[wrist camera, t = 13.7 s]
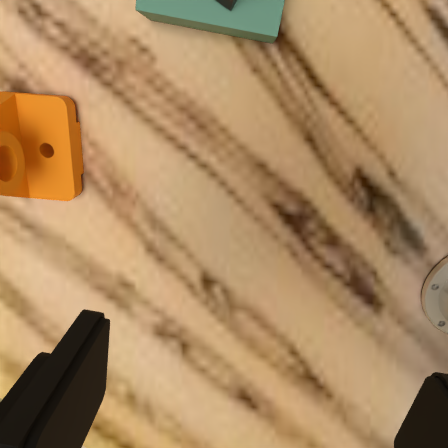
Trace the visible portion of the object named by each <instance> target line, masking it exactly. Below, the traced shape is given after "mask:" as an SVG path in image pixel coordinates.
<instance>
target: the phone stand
mask: <svg viewBox="0 0 448 448" xmlns="http://www.w3.org/2000/svg"><path fill="white" fill-rule="evenodd" d="M216 1H217V2H218V3H220V4H221V5H223V6H224V7H225V8H227V9H228V10H230V11H231V10H232V9H233V7H234V5H235V3H236V1H237V0H216Z"/></svg>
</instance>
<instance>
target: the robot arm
mask: <svg viewBox="0 0 448 448" xmlns="http://www.w3.org/2000/svg"><path fill="white" fill-rule="evenodd" d="M421 302H422V307H423V310H424V312H425V314H426V316H427V317H428V319H429V320H430V321H431V323H432V324H433V325H434V326H435V327H436V328H438V329H439V330H441V331H443V332H444V333H446V334H448V257H446V258H445V259H443V260H442V261H441V262H440V263H439V264H438V265H437V266H436V267H435V268H434V269H433V270H432V272H431V273H430V274H429V275H428V277H427V279H426V281H425V283H424V286H423V290H422V297H421ZM109 330H110V320H109V319H105V318H104V313H102V312H96V311H90V310H85V309H84V310H82V312H81V313H80V314H79V316H78V317H77V318H76V320H75V321H74V322H73V324H72V325H71V327H70V328H69V329H68V331H67V332H66V334H65V335H64V336H63V338H62V339H61V341H60V342H59V343H58V345H57V346H56V347H55V349H54V350H53V352H52V353H51V354H50V353H45V352H41V353H40V354H38V355H37V356H36V357H35V358H34V359H33V361H32V362H31V363H30V365H29V366H28V367H27V369H26V370H25V371H24V372H23V374H22V375H21V376H20V378H19V379H18V380H17V382H16V383H15V384H14V385H13V387H12V388H11V389H10V391H9V392H8V393H7V395H6V396H5V397H4V398H3V400H2V401H1V402H0V448H81V447H82V445H83V443H84V441H85V438H86V436H87V434H88V432H89V429H90V427H91V425H92V423H93V421H94V418H95V416H96V414H97V412H98V409H99V407H100V405H101V403H102V400H103V397H104V394H105V390H106V377H107V361H108V346H109ZM394 448H448V374H444V373H438V372H435V373H433V374H432V375H431V376H428V377H427V378H426V379H425V381H424V383H423V385H422V386H421V388H420V390H419V392H418V394H417V396H416V398H415V400H414V402H413V404H412V406H411V408H410V410H409V412H408V414H407V416H406V418H405V420H404V421H403V423H402V425H401V427H400V429H399V431H398V433H397V435H396V437H395V440H394Z"/></svg>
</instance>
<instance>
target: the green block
mask: <svg viewBox="0 0 448 448" xmlns="http://www.w3.org/2000/svg"><path fill="white" fill-rule="evenodd" d="M284 1H285V0H237V1H236V3H235V5H234V7H233V9H232V10H231V11H230V10H228V9H227V8H225V7H224V6H223V5H221V4H220V3H218V2H217V1H216V0H136V10H137V11H138V12H140V13H141V14H142V15H144V16H145V17H147V18H148V19H149V20H152V21H157V22H163V23H168V24H173V25H178V26H183V27H189V28H194V29H199V30H204V31H210V32H215V33H220V34H225V35H231V36H236V37H241V38H246V39H251V40H257V41H262V42H267V43H272V44H273V42H274V41H275V39H276V38H277V35H278V30H279V25H280V21H281V16H282V11H283V6H284Z"/></svg>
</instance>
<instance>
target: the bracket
mask: <svg viewBox="0 0 448 448" xmlns="http://www.w3.org/2000/svg"><path fill="white" fill-rule="evenodd" d="M83 173H84V169H83V157H82V145H81V132H80V122H76V111H75V104H74V102H73V101H72V100H71V99H70V98H69V97H67V96H57V95H43V94H30V93H17V92H0V195H3V196H13V197H25V198H37V199H49V200H61V201H70V200H72V199H73V198H75V197H76V196H78V195H79V194H80V193H81V192H82V182H81V174H83Z"/></svg>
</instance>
